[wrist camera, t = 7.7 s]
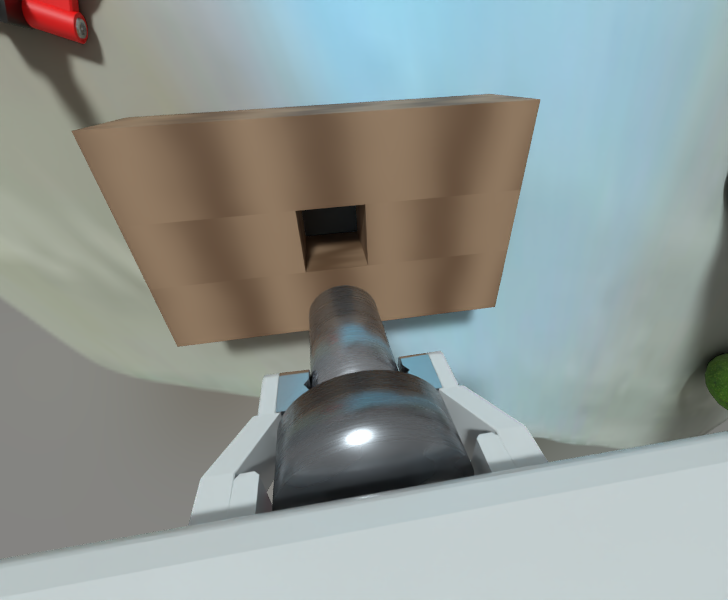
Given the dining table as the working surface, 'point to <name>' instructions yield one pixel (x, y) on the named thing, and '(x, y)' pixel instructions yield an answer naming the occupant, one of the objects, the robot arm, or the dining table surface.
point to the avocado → (718, 379)
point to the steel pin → (360, 414)
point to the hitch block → (315, 207)
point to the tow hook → (47, 17)
